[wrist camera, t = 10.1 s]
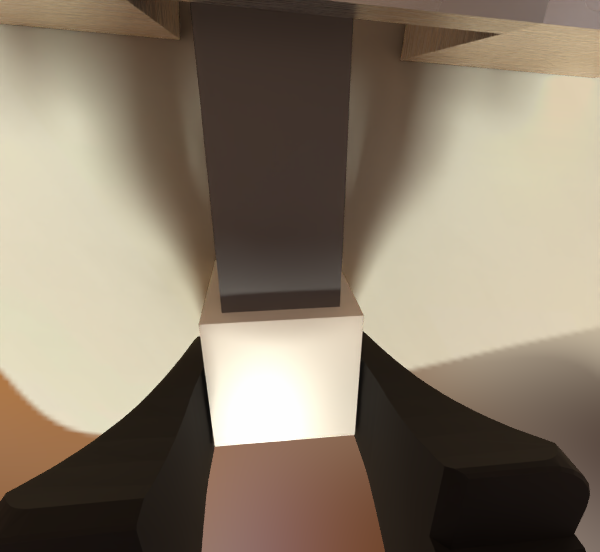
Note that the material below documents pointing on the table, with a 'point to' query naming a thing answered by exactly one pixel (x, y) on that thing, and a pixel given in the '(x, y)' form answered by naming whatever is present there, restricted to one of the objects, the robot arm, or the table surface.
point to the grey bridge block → (386, 8)
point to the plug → (277, 224)
